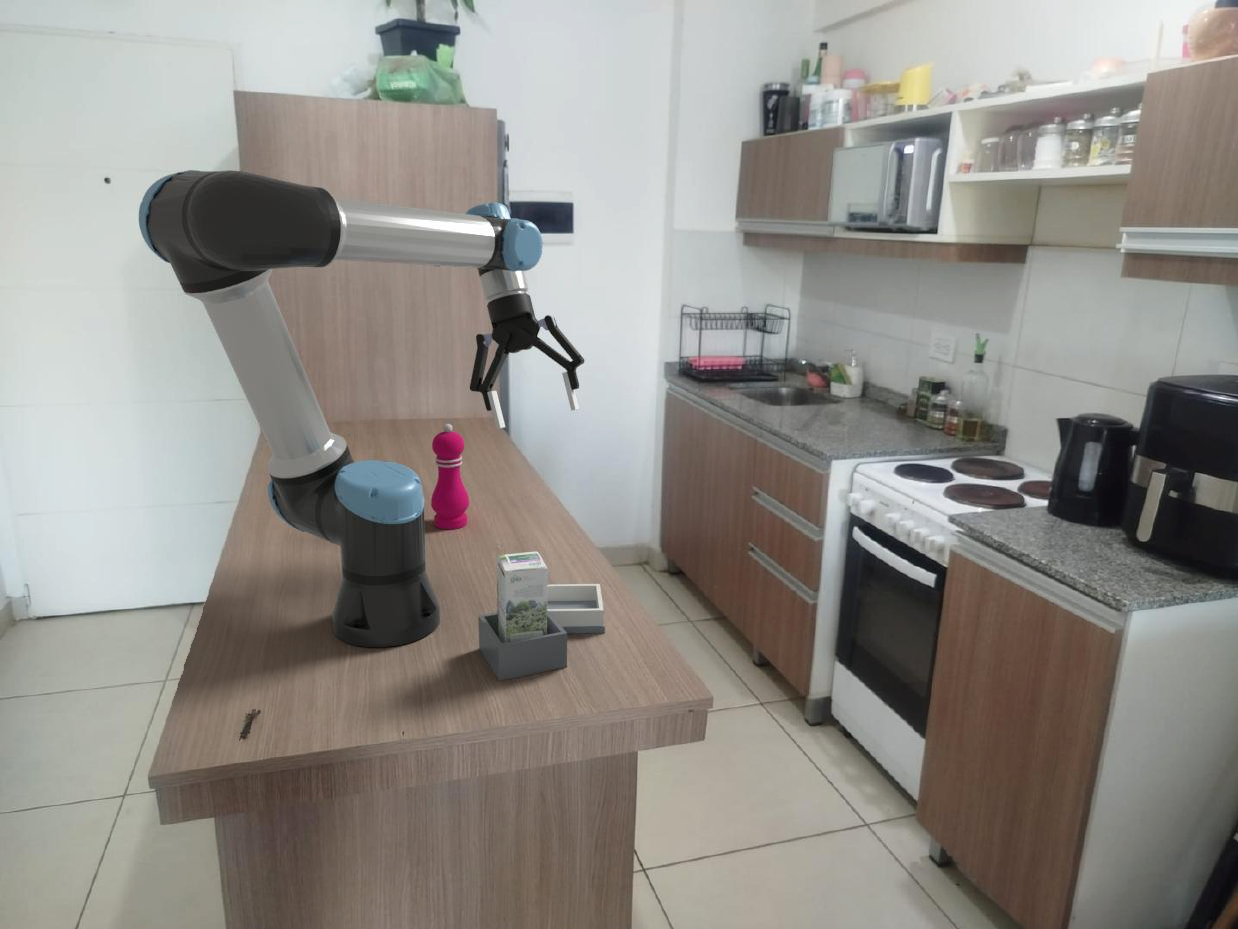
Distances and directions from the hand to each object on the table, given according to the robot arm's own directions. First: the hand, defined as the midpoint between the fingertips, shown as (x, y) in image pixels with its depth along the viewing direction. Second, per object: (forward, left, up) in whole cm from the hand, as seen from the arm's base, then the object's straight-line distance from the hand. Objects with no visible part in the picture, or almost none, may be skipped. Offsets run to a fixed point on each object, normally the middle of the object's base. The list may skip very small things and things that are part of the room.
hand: (537, 419), depth 148 cm
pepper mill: (-11, +20, -25) cm, 34 cm away
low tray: (-4, -27, -24) cm, 36 cm away
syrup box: (-15, -35, -25) cm, 45 cm away
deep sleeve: (-15, -35, -24) cm, 45 cm away
